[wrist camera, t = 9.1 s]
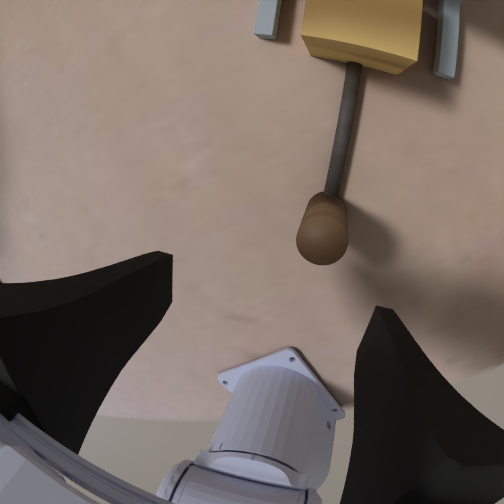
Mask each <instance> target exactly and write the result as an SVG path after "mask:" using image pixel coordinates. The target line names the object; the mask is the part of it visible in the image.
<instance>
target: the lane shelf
mask: <svg viewBox="0 0 504 504" xmlns="http://www.w3.org/2000/svg"><path fill="white" fill-rule="evenodd" d="M462 1H463V0H439V6H438V24H437V37H436V47H435V57H434V65H433V73H432V74H433V75H436V76H439V77H441V78H444V79H447V80H449V79H452V78H454V76H455V68H456V59H457V48H458V35H459V15H460V3H461V2H462ZM281 5H282V0H259V6H258V12H257V19H256V25H255V31H254V34H255V35H256V36H257V37H259V38H263V39H274V40H276V37H277V30H278V24H279V17H280V11H281Z"/></svg>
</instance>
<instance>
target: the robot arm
mask: <svg viewBox="0 0 504 504" xmlns="http://www.w3.org/2000/svg"><path fill="white" fill-rule="evenodd" d="M172 269H173V255H172V254H168V253H164V252H161V251H155V252H150V253H147V254H143V255H140V256H137V257H134V258H131V259H128V260H125V261H122V262H119V263H116V264H113V265H110V266H106V267H103V268H99V269H96V270H93V271H89V272H86V273H82V274H78V275H74V276H69V277H64V278H59V279H53V280H45V281H37V282H28V283H0V504H100V503H98V502H97V501H95V500H93V499H91V498H90V497H88V496H86V495H84V494H83V493H81V492H80V491H78V490H77V489H75V488H74V487H72V486H70V485H69V484H67V483H66V481H65V480H64V478H63V476H61V475H60V474H59V473H61V474H62V475H64V476H65V477H67V478H69V479H70V480H71V481H73V482H75V483H76V484H78V485H79V486H81V487H83V488H84V489H86V490H88V491H89V492H91V493H93V494H94V495H96V496H98V497H100V498H102V499H103V500H105V501H107V502H109V503H111V504H322V499H321V497H320V496H319V495H318V493H317V490H318V489H319V488H320V486H321V485H322V484H323V483H324V481H325V479H326V477H327V476H328V473H329V469H330V463H331V456H332V449H333V441H334V432H335V424H336V420H339V419H342V418H344V417H345V412H344V410H343V409H342V408H341V407H340V405H339V404H338V403H337V402H336V401H335V399H334V398H333V397H332V396H331V394H330V393H329V392H328V391H327V389H326V388H325V387H324V386H323V385H322V383H321V382H320V381H319V380H318V378H317V377H316V376H315V375H314V373H313V372H312V371H311V370H310V368H309V367H308V366H307V365H306V363H305V362H304V361H303V360H302V358H301V357H300V356H299V355H298V353H297V352H296V351H295V350H294V349H293V348H285V349H283V350H280V351H278V352H275V353H272V354H270V355H267V356H265V357H262V358H259V359H257V360H254V361H251V362H249V363H246V364H243V365H240V366H237V367H235V368H232V369H229V370H226V371H223V372H220V373H218V375H217V379H218V381H219V382H220V383H221V384H222V385H223V386H224V387H225V388H226V389H227V390H228V391H229V392H230V393H231V394H232V395H231V397H230V400H229V402H228V404H227V406H226V409H225V411H224V413H223V416H222V418H221V420H220V423H219V425H218V427H217V429H216V432H215V434H214V436H213V438H212V441H211V443H210V445H209V448H208V450H207V452H206V451H202V450H200V451H199V453H198V455H197V457H196V459H195V461H191V460H183V461H182V462H180V463H179V464H177V465H174V466H173V467H172V468H171V469H170V470H169V471H168V472H167V474H166V475H165V477H164V478H163V480H162V482H161V484H160V487H159V488H158V491H157V493H156V495H153V494H151V493H149V492H146V491H144V490H142V489H140V488H138V487H136V486H134V485H132V484H129V483H127V482H125V481H123V480H121V479H120V478H118V477H116V476H114V475H112V474H110V473H108V472H106V471H104V470H103V469H101V468H99V467H97V466H95V465H94V464H92V463H90V462H89V461H87V460H85V459H84V458H82V457H80V456H78V454H79V451H80V448H81V446H82V444H83V441H84V439H85V437H86V434H87V432H88V430H89V428H90V426H91V423H92V421H93V419H94V417H95V415H96V413H97V411H98V409H99V407H100V406H101V404H102V402H103V400H104V398H105V397H106V395H107V393H108V391H109V390H110V388H111V386H112V385H113V383H114V381H115V380H116V378H117V377H118V375H119V373H120V372H121V370H122V369H123V368H124V366H125V365H126V363H127V362H128V361H129V360H130V358H131V357H132V356H133V355H134V354H135V352H136V351H137V350H138V349H139V347H140V346H141V345H142V344H143V343H144V341H145V340H146V339H147V338H148V337H149V335H150V334H151V333H152V332H153V330H154V329H155V328H156V327H157V325H158V324H159V323H160V321H161V320H162V318H163V317H164V315H165V313H166V312H167V310H168V308H169V307H170V305H171V303H172ZM291 357H293V358H295V359H292V358H291ZM226 381H227V382H226ZM50 466H51V467H50ZM53 468H54V469H55V470H57V471H58V472H59V473H58V472H56V471H55V470H54V469H53ZM503 497H504V430H503V429H502V428H500V427H499V426H497V425H496V424H495V423H493V422H492V421H491V420H489V419H488V418H487V417H485V416H484V415H483V414H482V413H480V412H479V411H478V410H477V409H476V408H475V407H473V406H472V405H471V404H470V403H469V402H468V401H467V400H466V399H465V398H463V397H462V396H461V395H460V394H459V393H458V392H457V391H456V390H455V389H454V388H453V386H452V385H451V384H450V383H449V382H448V381H447V380H446V379H445V378H444V377H443V376H442V374H441V373H440V372H439V371H438V370H437V369H436V367H435V366H434V365H433V364H432V362H431V361H430V360H429V358H428V357H427V356H426V355H425V353H424V352H423V351H422V349H421V348H420V346H419V345H418V344H417V342H416V341H415V340H414V338H413V337H412V335H411V334H410V332H409V331H408V330H407V328H406V327H405V325H404V324H403V322H402V321H401V320H400V318H399V317H398V315H397V314H396V313H395V312H394V310H393V309H389V308H384V307H380V306H376V307H375V310H374V312H373V315H372V317H371V319H370V322H369V324H368V327H367V329H366V331H365V334H364V336H363V338H362V341H361V343H360V345H359V347H358V350H357V355H356V363H355V372H354V433H353V444H352V450H351V456H350V462H349V467H348V472H347V476H346V481H345V486H344V490H343V494H342V498H341V502H340V504H495V503H496V502H498V501H499V500H501V499H502V498H503Z"/></svg>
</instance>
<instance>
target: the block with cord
mask: <svg viewBox="0 0 504 504" xmlns="http://www.w3.org/2000/svg"><path fill="white" fill-rule="evenodd" d="M422 4H423V0H306V4H305V11H304V17H303V24H302V31H301V36H302V38H303V40H304V42H305V44H306V47H307V49H308V51H309V53H310V55H311V56H314V57H320V58H325V59H331V60H336V61H341V62H346V63H347V69H346V76H345V82H344V88H343V94H342V100H341V106H340V112H339V118H338V123H337V129H336V134H335V139H334V145H333V150H332V155H331V160H330V165H329V170H328V175H327V180H326V185H325V189H324V192H320V193H317V194H316V195H314V196H313V197H312V198H311V199H310V201H309V203H308V205H307V208H306V211H305V213H304V216H303V219H302V222H301V224H300V227H299V230H298V233H297V237H296V244H297V248H298V250H299V252H300V254H301V255H302V256H303V257H304V258H305V259H306V260H307V261H309V262H311V263H313V264H316V265H329V264H332V263H335V262H336V261H338V260H339V259H340V258H341V257H342V256H343V255H344V254H345V252H346V250H347V246H348V231H347V214H346V206H345V203H344V201H343V200H342V199H341V198H340V197H339V196H338V195H337V194H338V190H339V185H340V181H341V176H342V172H343V167H344V162H345V157H346V152H347V147H348V142H349V137H350V132H351V127H352V121H353V116H354V110H355V104H356V99H357V93H358V87H359V80H360V74H361V67H362V66H363V67H368V68H372V69H376V70H379V71H383V72H387V73H390V74H394V75H398V74H400V73H401V72H402V71H404V70H405V69H407V68H408V67H409V66H411V65H412V64H414V63H415V62H417V58H418V50H419V41H420V30H421V18H422Z"/></svg>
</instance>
